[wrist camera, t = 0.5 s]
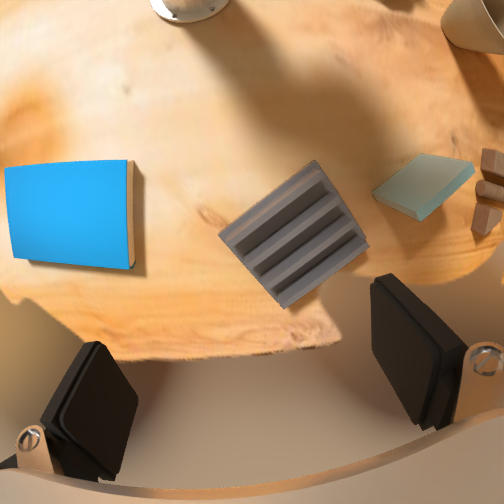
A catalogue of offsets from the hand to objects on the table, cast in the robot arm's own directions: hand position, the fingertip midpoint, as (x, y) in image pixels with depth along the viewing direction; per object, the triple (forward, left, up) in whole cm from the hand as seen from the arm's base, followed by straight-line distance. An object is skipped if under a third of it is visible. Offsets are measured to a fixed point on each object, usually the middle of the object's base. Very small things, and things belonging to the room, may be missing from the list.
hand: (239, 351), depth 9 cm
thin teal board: (+14, +23, -35) cm, 44 cm away
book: (-16, -23, -36) cm, 46 cm away
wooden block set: (+32, +45, -36) cm, 66 cm away
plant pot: (-2, +54, -35) cm, 64 cm away
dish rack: (+11, +3, -35) cm, 37 cm away
